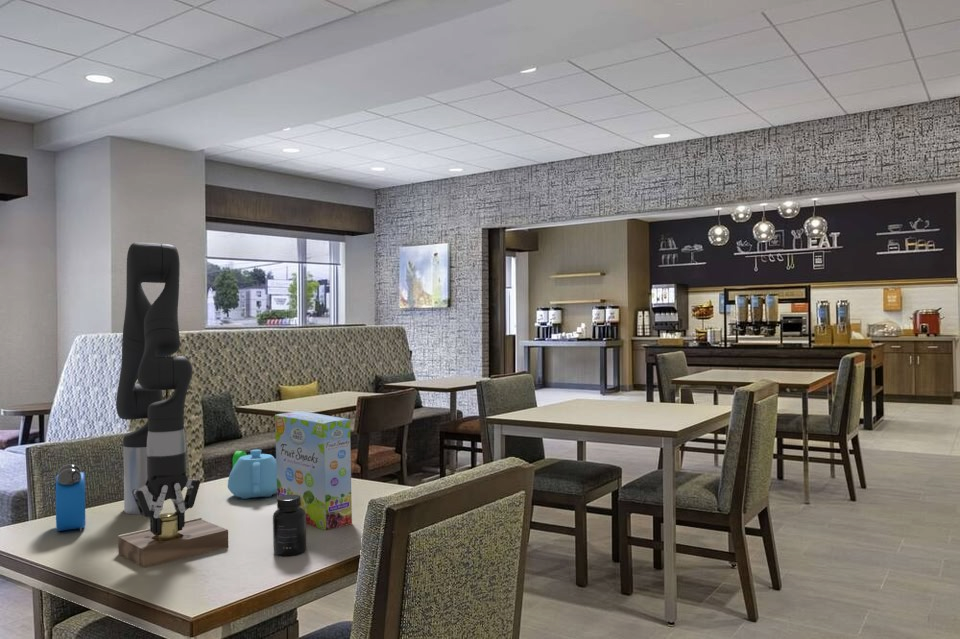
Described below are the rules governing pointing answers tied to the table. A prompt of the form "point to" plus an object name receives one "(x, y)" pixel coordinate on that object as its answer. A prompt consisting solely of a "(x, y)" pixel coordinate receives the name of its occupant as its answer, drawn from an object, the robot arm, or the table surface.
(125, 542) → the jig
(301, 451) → the snack box
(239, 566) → the table surface
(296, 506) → the supplement bottle
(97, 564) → the table surface
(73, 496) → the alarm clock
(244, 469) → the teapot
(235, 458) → the mechanical part
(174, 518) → the brass cylinder plug
